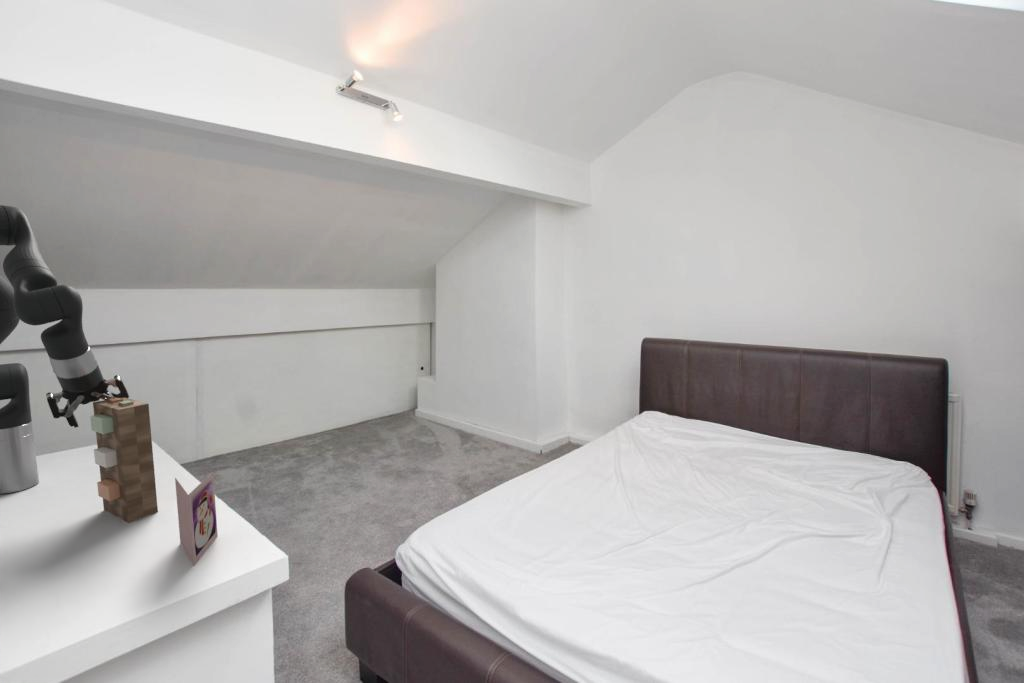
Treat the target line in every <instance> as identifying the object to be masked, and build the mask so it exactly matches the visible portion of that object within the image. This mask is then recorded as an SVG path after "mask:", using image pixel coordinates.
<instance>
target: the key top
mask: <svg viewBox="0 0 1024 683" xmlns="http://www.w3.org/2000/svg"><path fill="white" fill-rule="evenodd" d="M90 426H91V427H90V428H91V431H93V432H95V433H96V432H98V433H101V434H106V433H110V432H114V425H113V416H110V415H106V414H99V415H94V414H93V415H90Z"/></svg>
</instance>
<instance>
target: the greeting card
mask: <svg viewBox="0 0 1024 683" xmlns="http://www.w3.org/2000/svg"><path fill="white" fill-rule="evenodd" d="M214 478H215V477H214V472H213V471H212V472H211V473H210V474H209V475H208V476H207V477H205V478H204V480H202V481H201V482H200V483H199V484H198V485H197V486H196V487H194V489H193V490H191V492H189V493H188V492H187V491H186V490H185V489H184V487H183V486H182V484H181V483H180V482H179V480H178V479H177V477H174V481H175V493H176V505H177V506H176V507H177V508H176V509H177V518H178V519H177V520H178V529H179V531H178V532H179V543H180V545H181V547H182V549H183V551H184V553H185V554H186V556H187V558H188V560H189V561H190V563H191V564H192V566H193V567H195V566H196V564H197V563H198V562H199V561H200V559H201V558H202V557H203V556H204V554H205V552H207V550H209V548H210V546H212V544H213V543H214V542H215V540H216V539H217V538H218V535H219V534H218V525H217V524H218V523H217V509H216V495H215V494H216V493H215V480H214Z"/></svg>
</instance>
